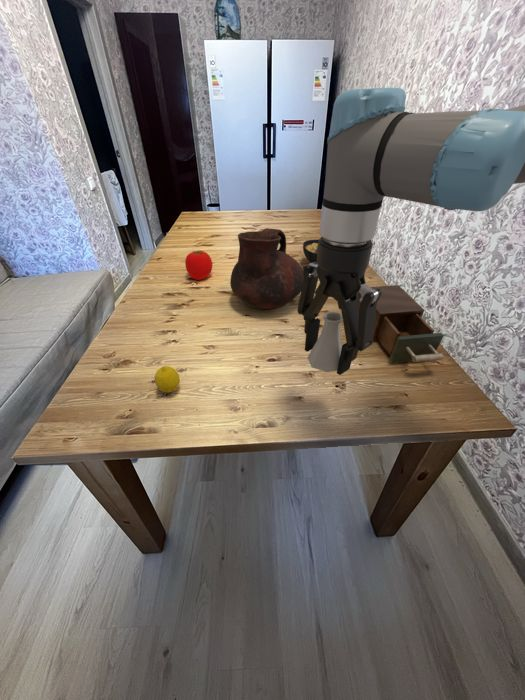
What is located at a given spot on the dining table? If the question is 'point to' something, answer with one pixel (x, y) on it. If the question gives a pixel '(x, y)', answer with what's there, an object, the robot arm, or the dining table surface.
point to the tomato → (198, 264)
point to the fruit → (167, 379)
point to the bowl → (310, 250)
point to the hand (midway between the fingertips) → (326, 358)
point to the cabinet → (392, 305)
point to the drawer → (409, 338)
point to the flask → (327, 345)
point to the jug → (265, 270)
